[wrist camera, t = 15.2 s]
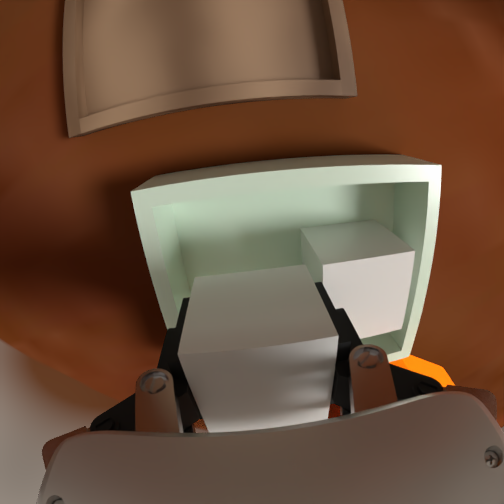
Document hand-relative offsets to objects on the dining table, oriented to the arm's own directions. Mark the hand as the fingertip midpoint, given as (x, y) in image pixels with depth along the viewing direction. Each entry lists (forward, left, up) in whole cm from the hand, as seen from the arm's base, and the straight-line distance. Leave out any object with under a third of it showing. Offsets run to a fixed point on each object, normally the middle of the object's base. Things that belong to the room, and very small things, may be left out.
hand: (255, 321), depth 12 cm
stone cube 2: (0, 0, 0) cm, 0 cm away
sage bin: (-2, 0, -5) cm, 6 cm away
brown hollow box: (+1, -17, -5) cm, 18 cm away
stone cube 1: (-5, 0, -5) cm, 7 cm away
